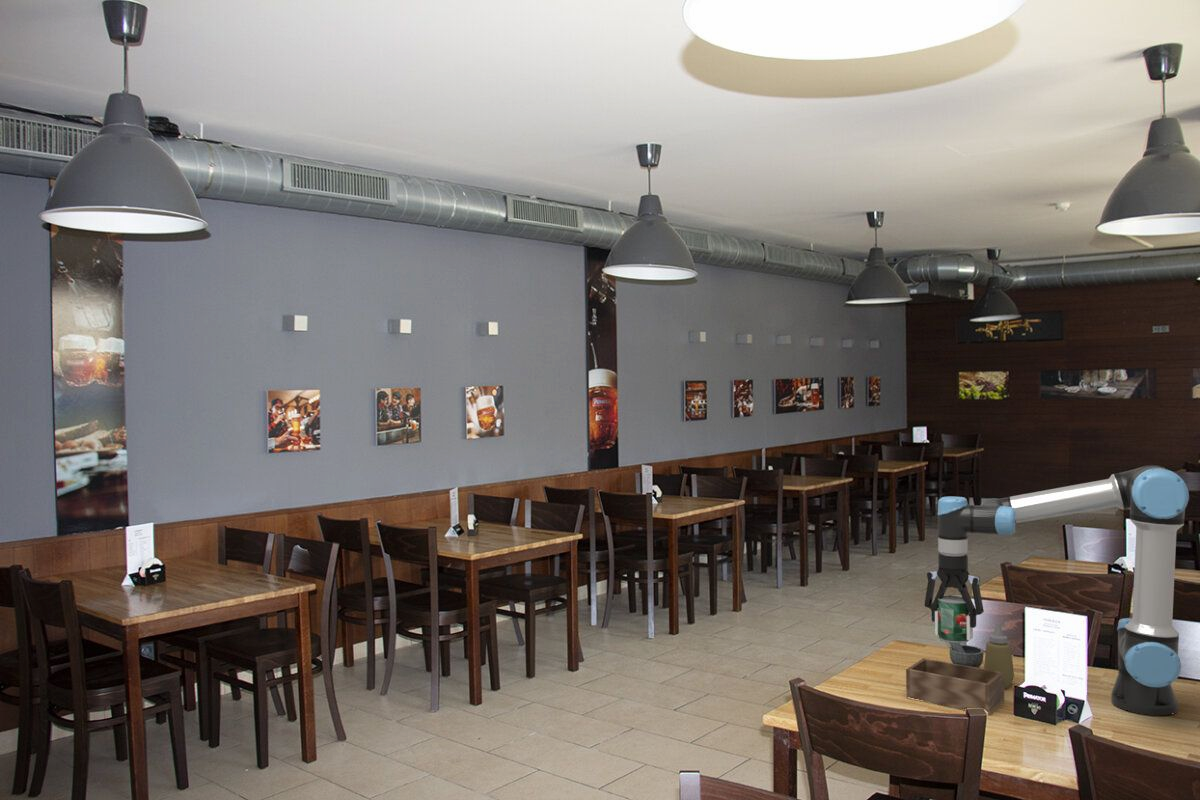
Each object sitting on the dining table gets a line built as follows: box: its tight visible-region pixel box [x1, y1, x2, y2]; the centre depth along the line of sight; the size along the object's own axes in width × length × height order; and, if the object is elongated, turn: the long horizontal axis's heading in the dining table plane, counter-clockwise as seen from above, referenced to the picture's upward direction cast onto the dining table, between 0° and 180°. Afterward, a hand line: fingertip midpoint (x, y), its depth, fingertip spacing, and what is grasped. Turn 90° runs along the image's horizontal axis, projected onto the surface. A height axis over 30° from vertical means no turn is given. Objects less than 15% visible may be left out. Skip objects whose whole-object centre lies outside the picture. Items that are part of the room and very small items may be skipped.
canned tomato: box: [938, 595, 970, 644], centre depth 246 cm, size 8×8×11 cm
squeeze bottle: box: [983, 622, 1015, 690], centre depth 257 cm, size 8×8×18 cm
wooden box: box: [905, 657, 1005, 717], centre depth 246 cm, size 22×13×8 cm, turn 50°
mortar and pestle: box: [949, 642, 984, 668], centre depth 270 cm, size 11×9×12 cm
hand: (953, 636), depth 246 cm, fingers closed on canned tomato, 8 cm apart
